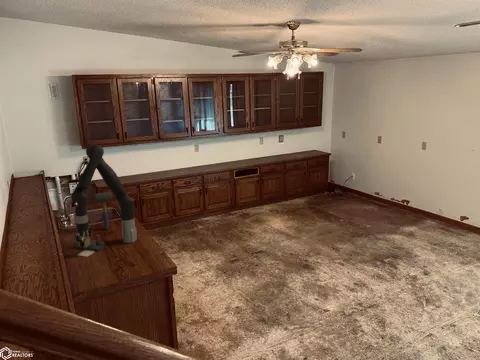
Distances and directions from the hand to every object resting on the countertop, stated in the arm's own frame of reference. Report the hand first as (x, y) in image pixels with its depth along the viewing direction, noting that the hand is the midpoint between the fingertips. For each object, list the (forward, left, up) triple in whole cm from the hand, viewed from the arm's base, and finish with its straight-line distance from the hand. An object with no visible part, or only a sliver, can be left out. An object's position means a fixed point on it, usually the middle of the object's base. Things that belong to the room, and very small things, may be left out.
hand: (84, 244), depth 247 cm
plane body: (+4, -9, -6) cm, 11 cm away
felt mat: (0, 0, -6) cm, 6 cm away
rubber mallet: (+14, -41, -6) cm, 44 cm away
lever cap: (0, 0, 0) cm, 0 cm away
